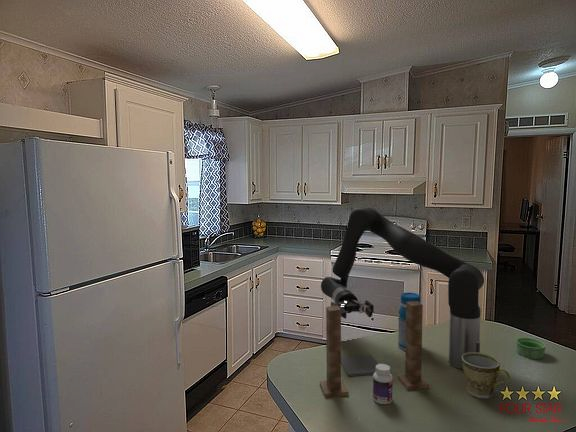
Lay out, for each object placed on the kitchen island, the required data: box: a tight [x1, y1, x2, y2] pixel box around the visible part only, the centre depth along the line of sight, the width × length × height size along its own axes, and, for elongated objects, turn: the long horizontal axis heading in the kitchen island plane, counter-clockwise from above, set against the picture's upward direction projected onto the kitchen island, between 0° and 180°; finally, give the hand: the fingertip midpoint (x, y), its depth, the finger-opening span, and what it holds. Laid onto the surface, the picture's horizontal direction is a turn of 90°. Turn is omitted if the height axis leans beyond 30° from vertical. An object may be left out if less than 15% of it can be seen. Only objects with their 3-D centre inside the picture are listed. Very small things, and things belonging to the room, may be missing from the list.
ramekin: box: [515, 337, 547, 360], centre depth 137 cm, size 9×9×4 cm
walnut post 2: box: [397, 301, 430, 391], centre depth 118 cm, size 7×7×25 cm
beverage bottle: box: [397, 292, 421, 352], centre depth 143 cm, size 8×8×20 cm
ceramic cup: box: [462, 352, 510, 400], centre depth 112 cm, size 13×10×10 cm
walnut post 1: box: [319, 305, 350, 399], centre depth 115 cm, size 7×7×25 cm
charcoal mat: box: [341, 354, 379, 377], centre depth 130 cm, size 12×12×1 cm
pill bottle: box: [372, 363, 393, 405], centre depth 110 cm, size 5×5×10 cm
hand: (358, 315), depth 128 cm, fingers open, 8 cm apart
